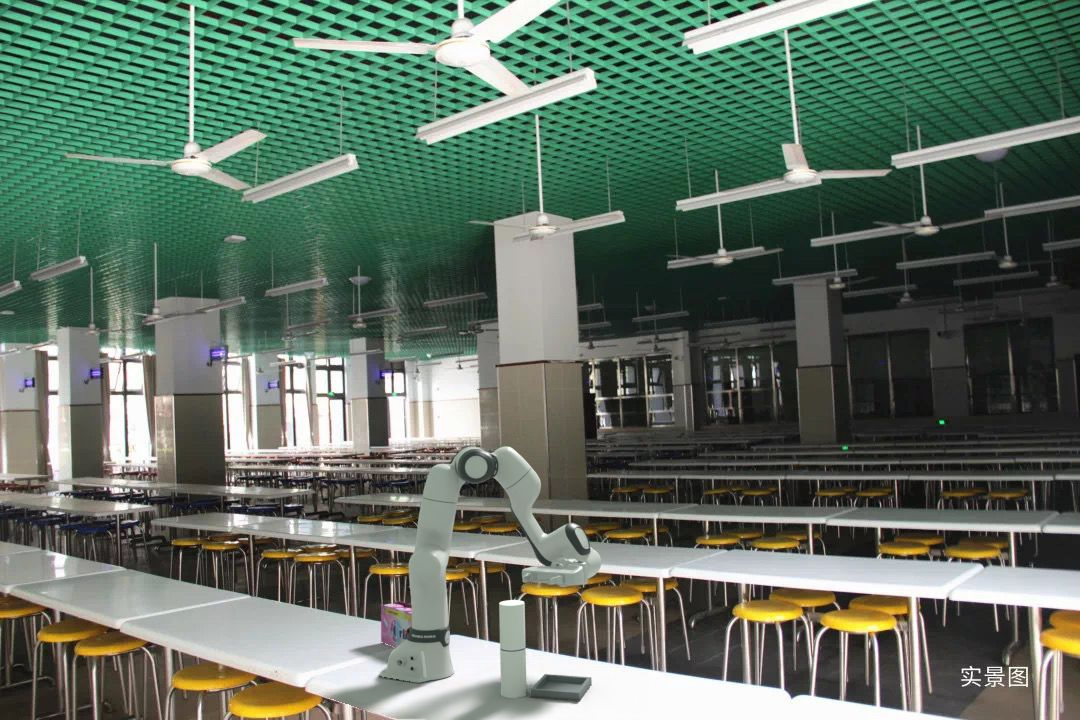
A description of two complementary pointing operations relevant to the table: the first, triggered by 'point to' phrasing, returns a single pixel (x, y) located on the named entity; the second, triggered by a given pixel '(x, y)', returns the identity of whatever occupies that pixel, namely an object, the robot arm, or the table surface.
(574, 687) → the tray
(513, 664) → the cylindrical container
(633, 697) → the table surface
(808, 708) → the table surface
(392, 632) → the pink product box
